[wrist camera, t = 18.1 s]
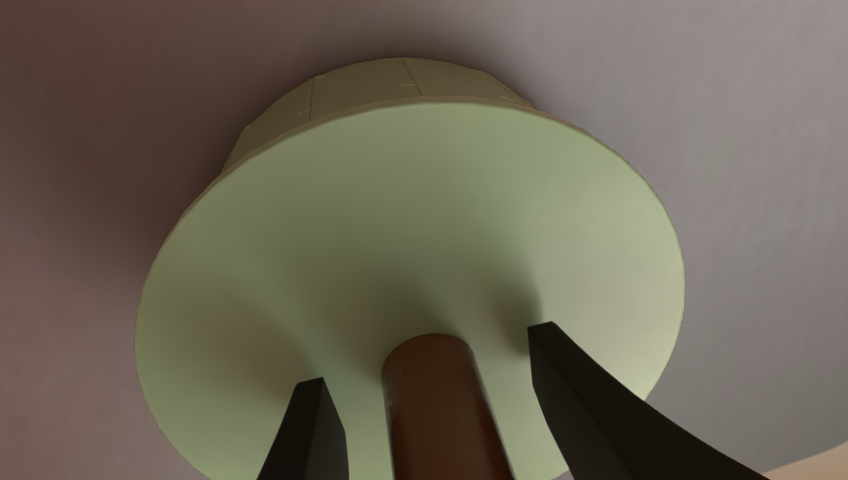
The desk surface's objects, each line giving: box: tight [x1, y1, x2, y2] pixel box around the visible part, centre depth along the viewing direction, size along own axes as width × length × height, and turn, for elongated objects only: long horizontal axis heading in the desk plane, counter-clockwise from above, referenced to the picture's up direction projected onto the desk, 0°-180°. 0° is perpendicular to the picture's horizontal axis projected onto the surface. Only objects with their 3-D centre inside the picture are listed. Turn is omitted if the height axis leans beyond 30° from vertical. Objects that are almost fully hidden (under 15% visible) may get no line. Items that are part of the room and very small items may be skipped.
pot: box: [219, 57, 542, 175], centre depth 16 cm, size 12×12×5 cm
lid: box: [134, 96, 686, 480], centre depth 12 cm, size 13×13×5 cm
